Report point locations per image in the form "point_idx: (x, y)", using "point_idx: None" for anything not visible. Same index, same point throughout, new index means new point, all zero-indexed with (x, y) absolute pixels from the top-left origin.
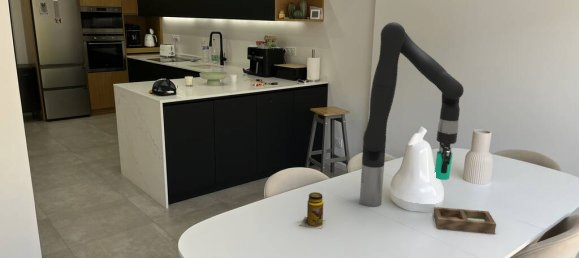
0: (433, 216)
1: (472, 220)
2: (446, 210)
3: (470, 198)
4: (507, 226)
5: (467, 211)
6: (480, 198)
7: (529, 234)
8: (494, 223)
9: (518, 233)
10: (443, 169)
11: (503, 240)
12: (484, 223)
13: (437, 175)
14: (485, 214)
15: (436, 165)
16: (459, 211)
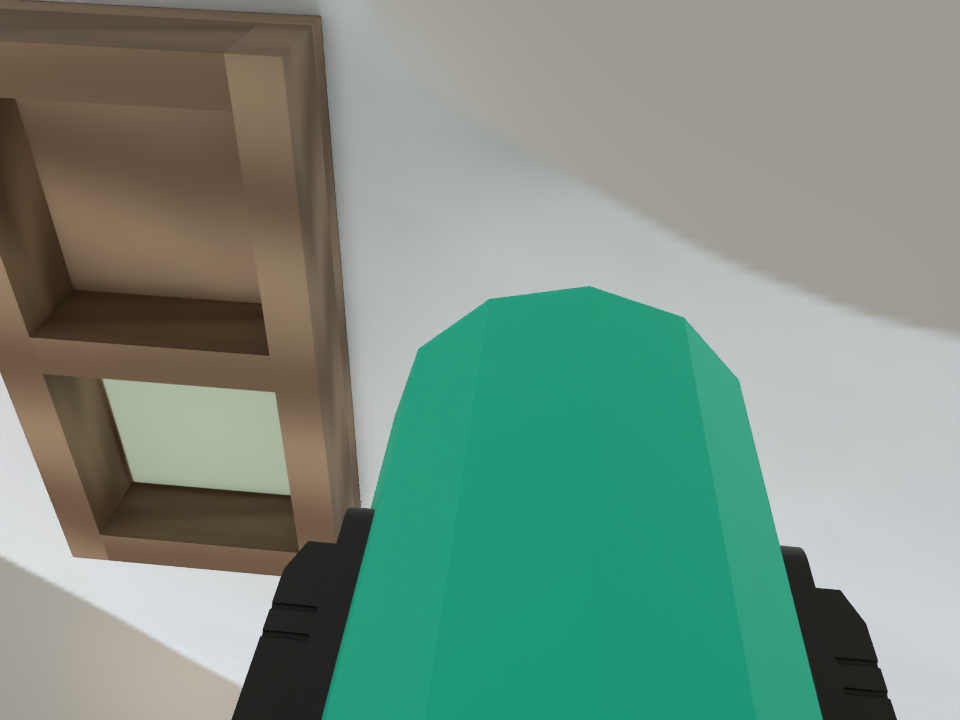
0: (289, 16)
1: (51, 408)
2: (253, 209)
3: (879, 522)
4: None
5: (280, 421)
6: (869, 592)
7: (211, 659)
8: (78, 549)
9: (199, 615)
10: (267, 630)
11: (31, 506)
12: (47, 482)
13: (443, 377)
14: (291, 540)
15: (495, 562)
16: (274, 346)
